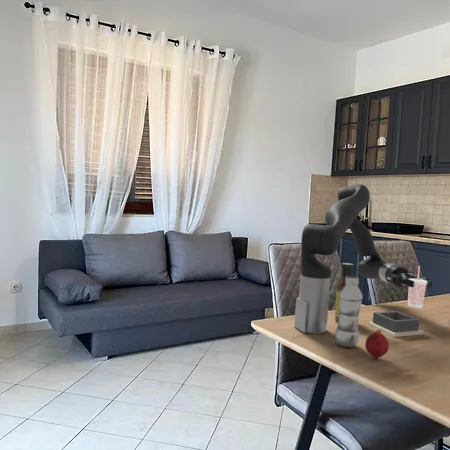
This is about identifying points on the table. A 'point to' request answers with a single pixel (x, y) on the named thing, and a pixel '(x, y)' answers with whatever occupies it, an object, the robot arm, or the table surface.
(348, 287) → the plastic bottle
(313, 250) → the robot arm
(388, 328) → the grey tray on board
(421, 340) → the table surface
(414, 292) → the beverage cup
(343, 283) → the sauce bottle
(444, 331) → the table surface
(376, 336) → the onion
